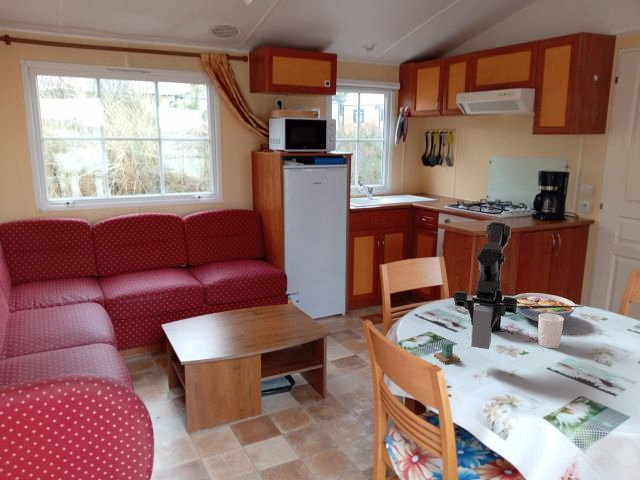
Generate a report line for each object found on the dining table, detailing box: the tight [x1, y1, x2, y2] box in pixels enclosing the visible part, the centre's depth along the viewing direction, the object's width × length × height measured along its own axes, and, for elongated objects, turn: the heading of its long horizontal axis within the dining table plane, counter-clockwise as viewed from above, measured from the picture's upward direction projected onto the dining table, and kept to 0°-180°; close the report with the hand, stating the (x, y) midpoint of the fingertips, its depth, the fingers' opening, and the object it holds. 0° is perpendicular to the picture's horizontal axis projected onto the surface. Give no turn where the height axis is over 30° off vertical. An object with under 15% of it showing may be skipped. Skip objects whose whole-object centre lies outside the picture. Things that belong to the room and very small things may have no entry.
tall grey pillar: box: [471, 304, 493, 350], centre depth 156 cm, size 5×5×12 cm
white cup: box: [537, 313, 565, 349], centre depth 173 cm, size 8×8×10 cm
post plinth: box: [433, 340, 461, 364], centre depth 163 cm, size 6×6×6 cm
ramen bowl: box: [513, 292, 585, 323], centre depth 196 cm, size 25×23×8 cm
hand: (481, 326), depth 155 cm, fingers closed on tall grey pillar, 5 cm apart
